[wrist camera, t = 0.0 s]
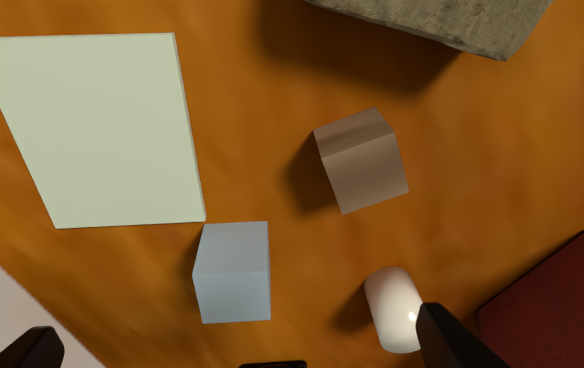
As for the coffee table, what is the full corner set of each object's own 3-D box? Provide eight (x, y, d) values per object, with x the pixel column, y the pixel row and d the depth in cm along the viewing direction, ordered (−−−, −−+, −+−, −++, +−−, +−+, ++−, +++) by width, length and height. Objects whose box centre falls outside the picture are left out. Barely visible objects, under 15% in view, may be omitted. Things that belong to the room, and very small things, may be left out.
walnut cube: (388, 159, 24) (409, 192, 20) (331, 179, 24) (342, 214, 21) (374, 106, 22) (394, 131, 18) (312, 129, 22) (321, 158, 19)
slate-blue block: (270, 266, 28) (270, 319, 24) (212, 269, 28) (202, 323, 23) (267, 220, 26) (267, 270, 21) (204, 223, 25) (191, 274, 21)
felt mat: (206, 216, 25) (205, 221, 24) (60, 223, 24) (55, 228, 24) (174, 32, 19) (171, 34, 18) (-24, 37, 18) (-32, 39, 18)
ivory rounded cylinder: (406, 298, 31) (429, 351, 27) (361, 301, 31) (377, 355, 26) (414, 265, 29) (440, 316, 25) (366, 267, 29) (383, 320, 24)
